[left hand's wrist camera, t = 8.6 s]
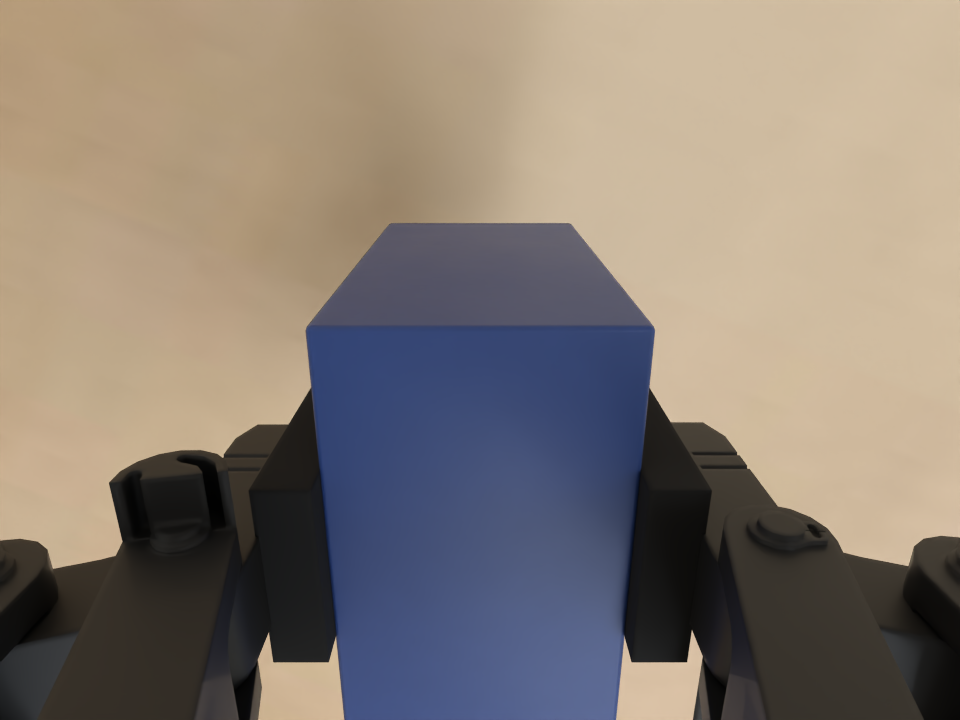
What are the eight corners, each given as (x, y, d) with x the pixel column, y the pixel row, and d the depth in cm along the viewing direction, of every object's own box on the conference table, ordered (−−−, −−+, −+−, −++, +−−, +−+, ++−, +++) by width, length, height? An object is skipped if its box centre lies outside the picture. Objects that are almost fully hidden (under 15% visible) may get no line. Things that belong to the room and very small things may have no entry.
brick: (401, 477, 17) (344, 738, 10) (388, 223, 15) (304, 326, 8) (558, 477, 17) (615, 738, 10) (571, 223, 15) (657, 327, 8)
